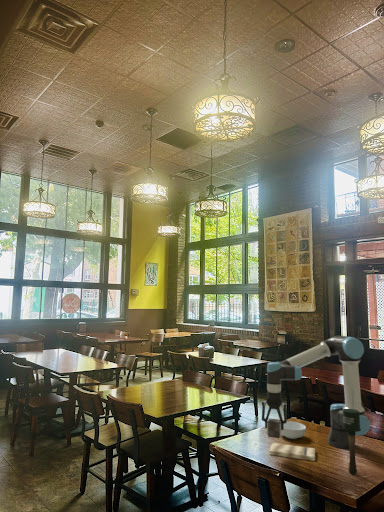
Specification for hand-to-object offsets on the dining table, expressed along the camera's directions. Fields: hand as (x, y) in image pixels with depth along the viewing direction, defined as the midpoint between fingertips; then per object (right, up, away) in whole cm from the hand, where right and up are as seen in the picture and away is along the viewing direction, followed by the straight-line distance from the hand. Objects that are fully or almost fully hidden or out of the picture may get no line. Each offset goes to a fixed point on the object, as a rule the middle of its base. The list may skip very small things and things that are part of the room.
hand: (274, 435), depth 207 cm
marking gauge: (+2, -1, +5) cm, 6 cm away
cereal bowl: (+18, -16, +32) cm, 40 cm away
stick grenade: (+35, -10, -19) cm, 41 cm away
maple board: (+11, -13, +5) cm, 18 cm away
